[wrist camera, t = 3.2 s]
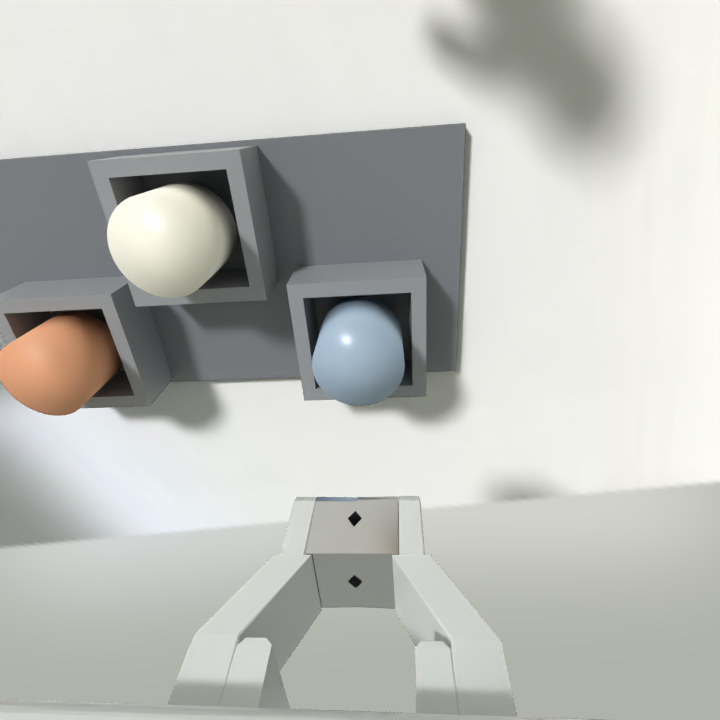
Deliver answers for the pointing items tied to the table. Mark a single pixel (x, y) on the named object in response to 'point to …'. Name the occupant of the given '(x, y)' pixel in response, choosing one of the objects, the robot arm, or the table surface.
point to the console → (246, 253)
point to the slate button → (359, 351)
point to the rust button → (60, 363)
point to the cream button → (171, 238)
